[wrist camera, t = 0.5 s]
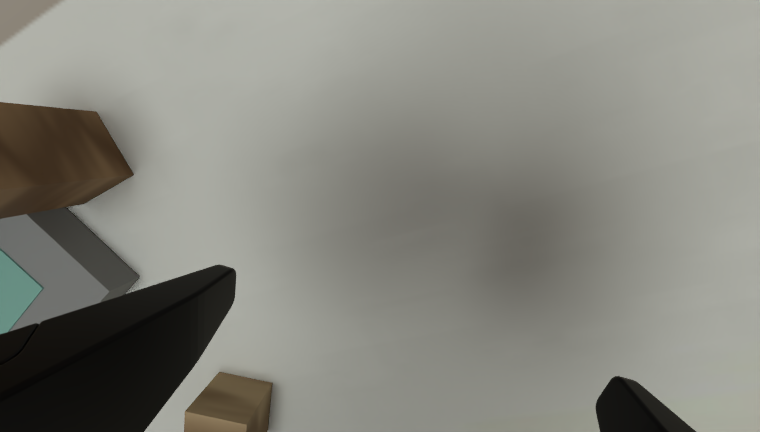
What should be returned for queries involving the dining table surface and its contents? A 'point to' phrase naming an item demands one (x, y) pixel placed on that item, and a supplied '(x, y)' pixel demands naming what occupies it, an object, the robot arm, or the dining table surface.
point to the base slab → (54, 268)
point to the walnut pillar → (54, 158)
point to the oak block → (230, 406)
